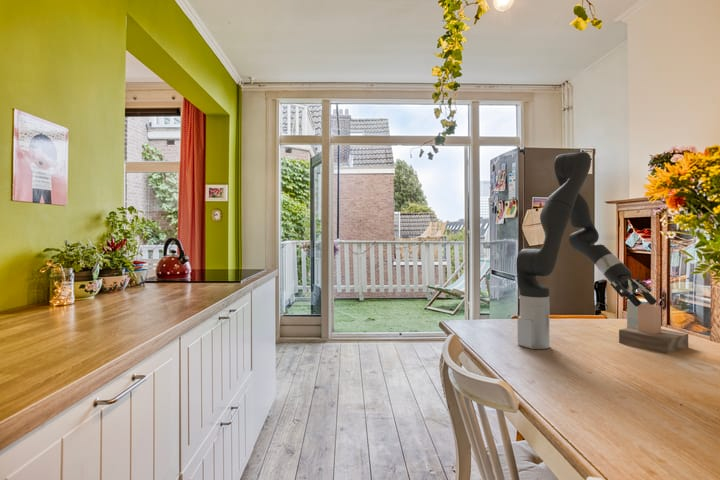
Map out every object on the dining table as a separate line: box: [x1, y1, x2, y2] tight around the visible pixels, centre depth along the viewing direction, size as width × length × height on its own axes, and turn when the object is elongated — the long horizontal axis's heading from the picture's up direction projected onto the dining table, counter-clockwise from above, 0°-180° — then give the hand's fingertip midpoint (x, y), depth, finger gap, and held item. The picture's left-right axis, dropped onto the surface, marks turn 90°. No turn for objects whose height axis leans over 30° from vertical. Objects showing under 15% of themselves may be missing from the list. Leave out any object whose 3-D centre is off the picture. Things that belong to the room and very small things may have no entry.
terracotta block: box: [638, 304, 662, 334], centre depth 125 cm, size 4×4×9 cm
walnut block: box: [618, 326, 689, 355], centre depth 125 cm, size 14×14×5 cm
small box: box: [626, 298, 651, 328], centre depth 140 cm, size 8×6×13 cm
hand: (646, 304), depth 126 cm, fingers open, 8 cm apart
